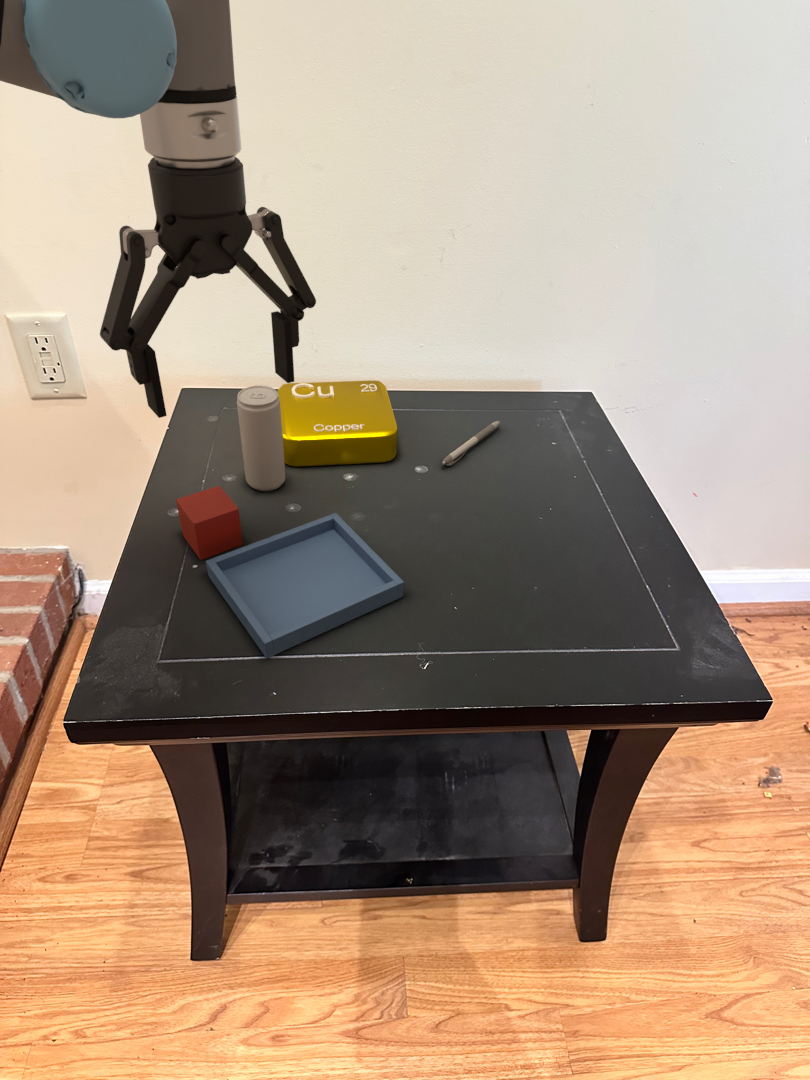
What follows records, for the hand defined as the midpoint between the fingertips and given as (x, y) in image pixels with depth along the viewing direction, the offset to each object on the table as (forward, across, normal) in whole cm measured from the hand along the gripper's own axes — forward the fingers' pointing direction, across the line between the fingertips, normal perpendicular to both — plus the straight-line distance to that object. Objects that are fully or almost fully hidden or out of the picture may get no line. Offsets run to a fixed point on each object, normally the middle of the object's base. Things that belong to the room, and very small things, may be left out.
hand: (223, 393), depth 72 cm
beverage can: (+17, +7, +6) cm, 19 cm away
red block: (+17, -4, 0) cm, 17 cm away
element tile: (+17, +20, +11) cm, 28 cm away
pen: (+17, +33, -1) cm, 37 cm away
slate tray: (+17, +1, -13) cm, 21 cm away
